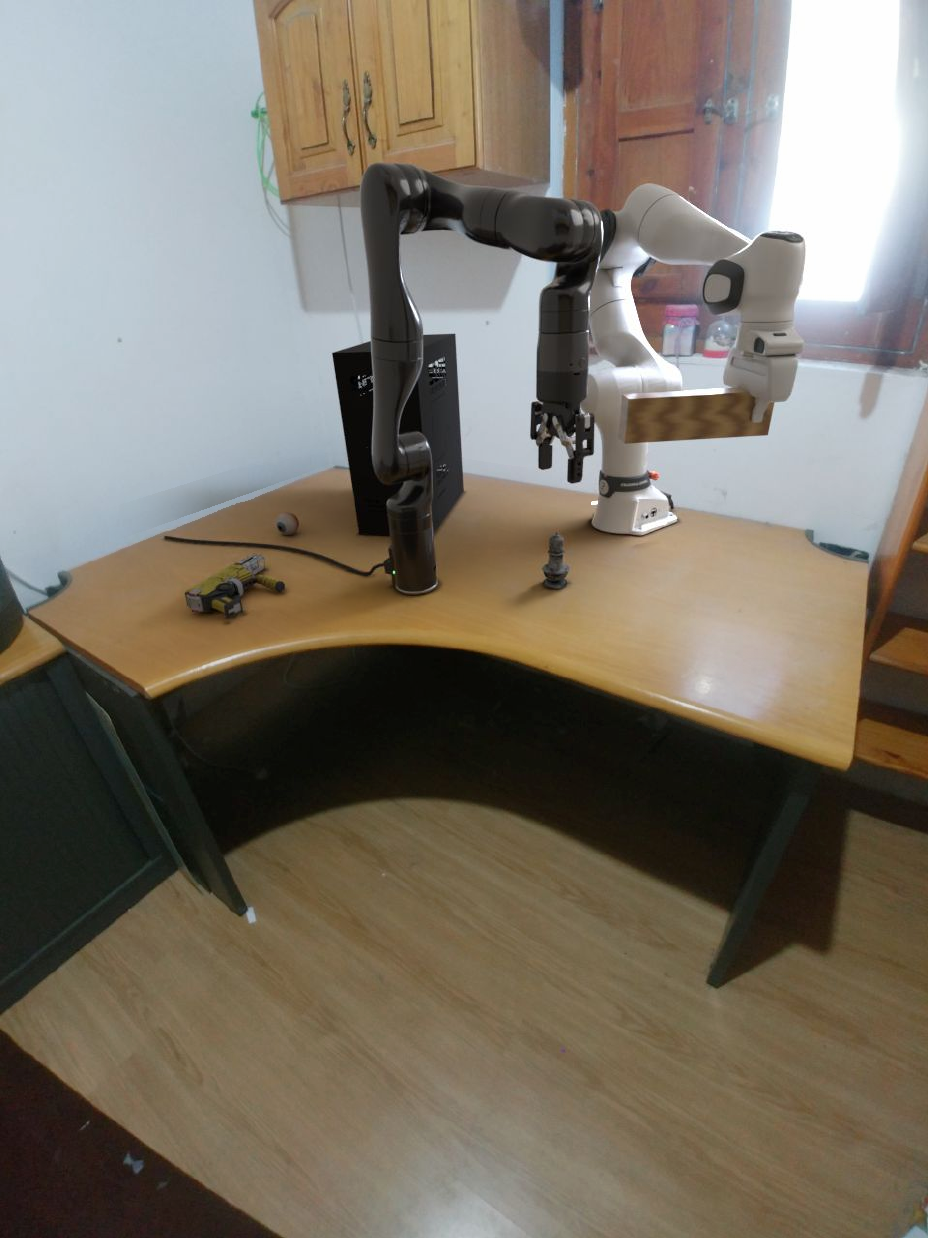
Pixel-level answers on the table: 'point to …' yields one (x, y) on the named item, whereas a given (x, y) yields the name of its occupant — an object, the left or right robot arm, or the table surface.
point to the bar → (690, 415)
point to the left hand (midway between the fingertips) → (559, 475)
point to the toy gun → (230, 587)
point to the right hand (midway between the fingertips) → (748, 418)
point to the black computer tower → (402, 429)
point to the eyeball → (287, 523)
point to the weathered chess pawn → (555, 564)
